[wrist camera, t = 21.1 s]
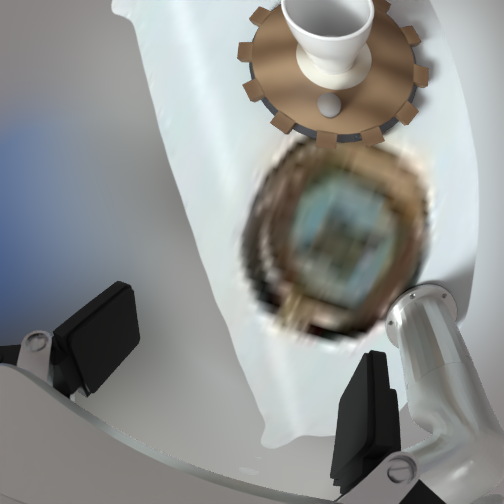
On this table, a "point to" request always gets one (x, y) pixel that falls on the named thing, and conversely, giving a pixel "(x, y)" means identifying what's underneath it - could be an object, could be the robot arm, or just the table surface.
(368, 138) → the sprocket
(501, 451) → the robot arm
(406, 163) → the table surface
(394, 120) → the sprocket stand
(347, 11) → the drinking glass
